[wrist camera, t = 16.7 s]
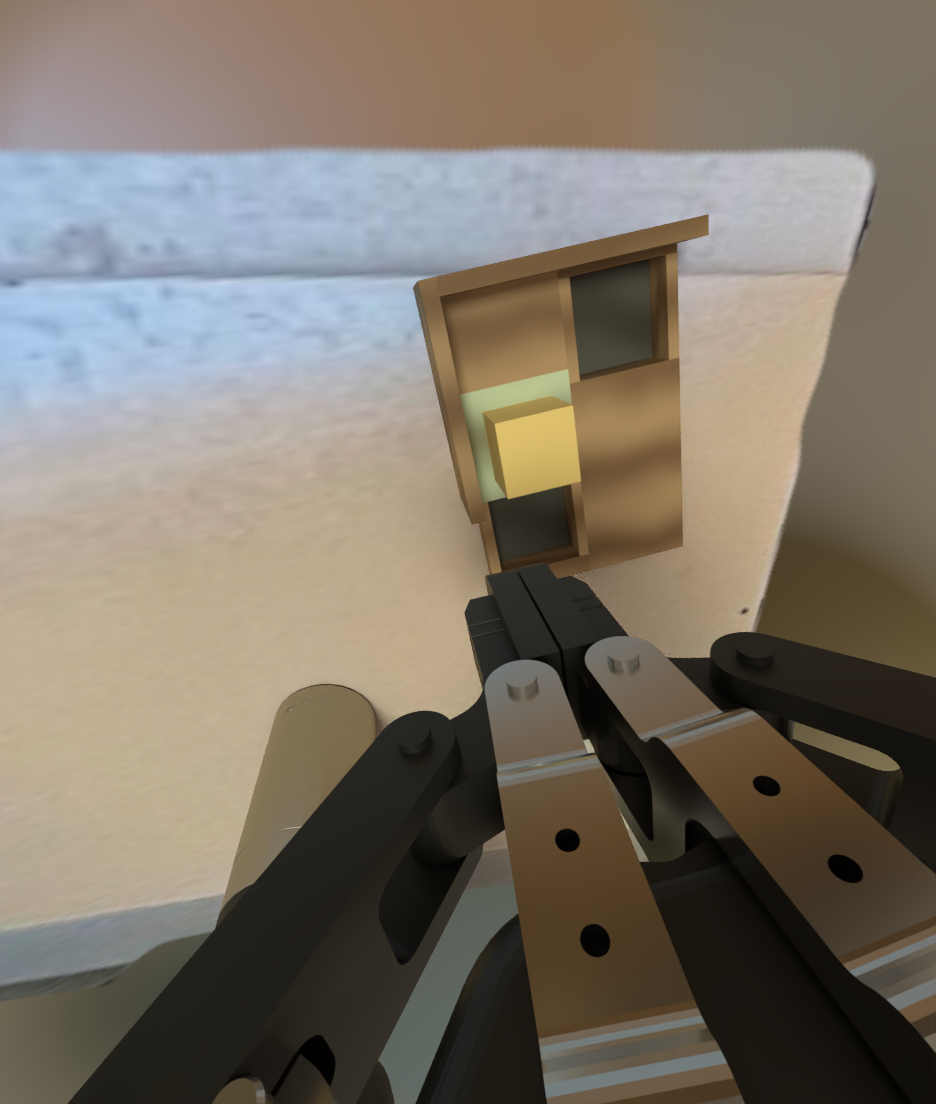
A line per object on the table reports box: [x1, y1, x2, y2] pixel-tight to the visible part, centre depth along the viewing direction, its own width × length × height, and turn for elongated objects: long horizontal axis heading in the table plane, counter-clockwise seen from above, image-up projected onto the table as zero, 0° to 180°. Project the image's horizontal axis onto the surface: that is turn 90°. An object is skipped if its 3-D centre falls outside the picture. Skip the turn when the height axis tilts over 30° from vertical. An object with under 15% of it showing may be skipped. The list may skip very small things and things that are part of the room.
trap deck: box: [413, 215, 708, 578], centre depth 36 cm, size 23×17×6 cm
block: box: [482, 396, 581, 499], centre depth 34 cm, size 5×5×4 cm
